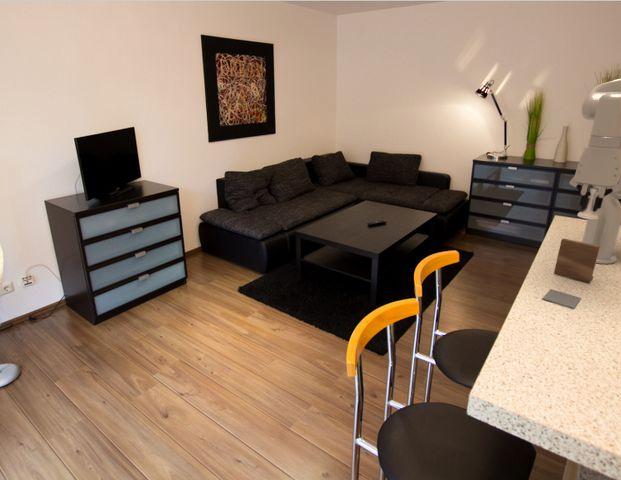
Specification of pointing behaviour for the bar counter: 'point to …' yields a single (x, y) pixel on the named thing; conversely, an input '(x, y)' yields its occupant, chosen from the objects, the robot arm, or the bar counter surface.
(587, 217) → the chess piece
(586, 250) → the brown piece
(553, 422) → the bar counter surface
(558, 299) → the pad
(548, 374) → the bar counter surface
